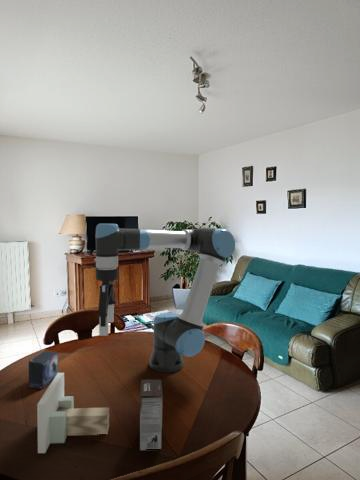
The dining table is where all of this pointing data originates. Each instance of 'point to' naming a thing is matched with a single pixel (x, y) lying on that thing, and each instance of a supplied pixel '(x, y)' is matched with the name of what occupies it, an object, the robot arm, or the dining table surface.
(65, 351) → the dining table surface
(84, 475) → the dining table surface
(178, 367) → the robot arm
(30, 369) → the small box
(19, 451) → the dining table surface
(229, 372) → the dining table surface
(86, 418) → the rail
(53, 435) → the base plate with tabs
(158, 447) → the coffee box
